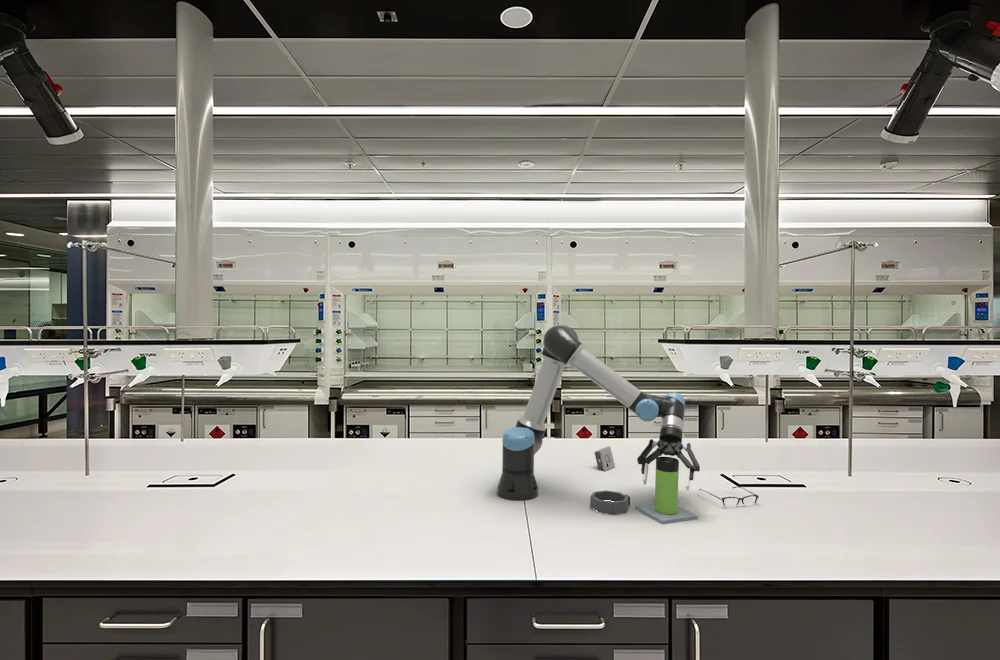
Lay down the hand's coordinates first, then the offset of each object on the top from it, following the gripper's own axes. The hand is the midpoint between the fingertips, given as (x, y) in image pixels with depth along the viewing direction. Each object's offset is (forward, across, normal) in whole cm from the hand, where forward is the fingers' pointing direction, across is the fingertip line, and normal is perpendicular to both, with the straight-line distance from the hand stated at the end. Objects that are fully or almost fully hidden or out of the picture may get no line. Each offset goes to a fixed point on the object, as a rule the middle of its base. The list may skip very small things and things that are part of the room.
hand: (665, 485), depth 172 cm
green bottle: (+5, 0, -8) cm, 10 cm away
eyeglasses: (-12, -18, -27) cm, 35 cm away
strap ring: (+8, +18, -7) cm, 21 cm away
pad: (+6, 0, -9) cm, 10 cm away
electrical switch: (-27, +31, -42) cm, 59 cm away
